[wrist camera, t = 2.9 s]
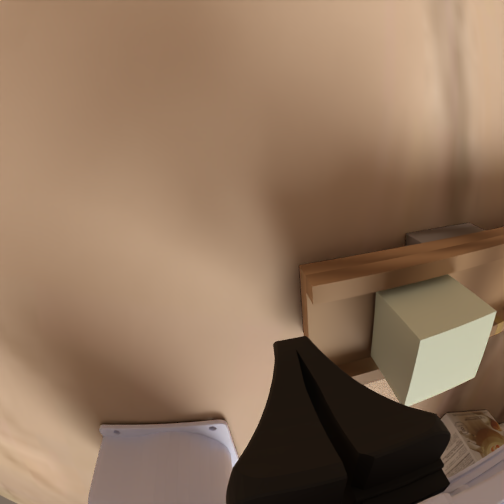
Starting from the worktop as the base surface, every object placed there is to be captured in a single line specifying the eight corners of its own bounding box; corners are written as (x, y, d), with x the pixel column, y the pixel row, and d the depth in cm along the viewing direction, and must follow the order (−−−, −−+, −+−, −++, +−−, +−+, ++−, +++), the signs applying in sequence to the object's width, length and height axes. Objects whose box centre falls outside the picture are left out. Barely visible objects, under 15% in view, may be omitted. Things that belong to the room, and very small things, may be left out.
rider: (370, 355, 14) (403, 408, 10) (375, 290, 13) (420, 340, 9) (436, 334, 14) (474, 377, 11) (446, 273, 13) (496, 311, 9)
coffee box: (488, 407, 25) (554, 498, 10) (455, 444, 26) (509, 534, 11) (445, 411, 23) (521, 531, 8) (407, 452, 25) (464, 567, 10)
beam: (297, 347, 17) (323, 418, 12) (289, 248, 15) (323, 305, 10) (511, 285, 18) (556, 317, 13) (523, 210, 16) (577, 233, 11)
